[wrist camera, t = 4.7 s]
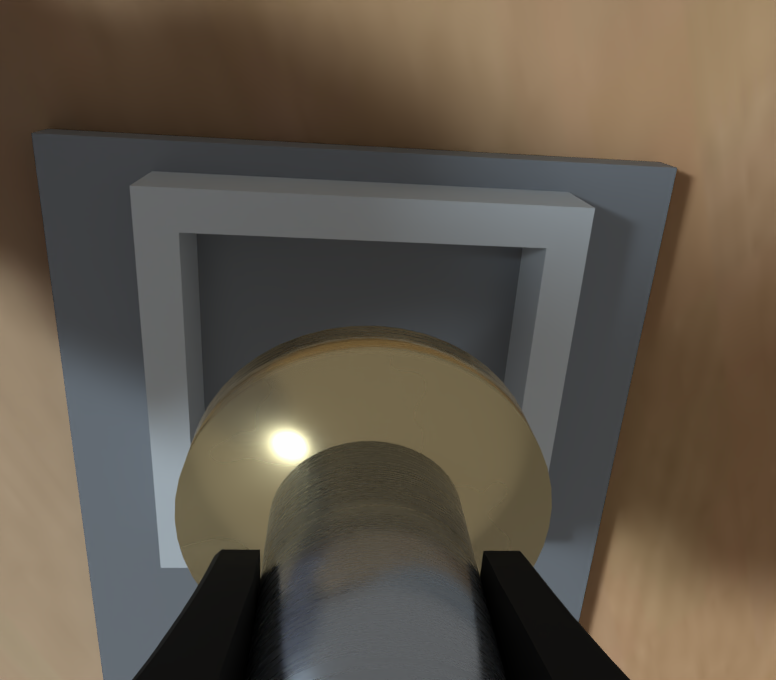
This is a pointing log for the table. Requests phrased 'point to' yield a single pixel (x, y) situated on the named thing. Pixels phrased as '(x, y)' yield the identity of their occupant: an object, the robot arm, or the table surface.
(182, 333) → the carrier
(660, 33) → the table surface
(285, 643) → the flanged metal cylinder
